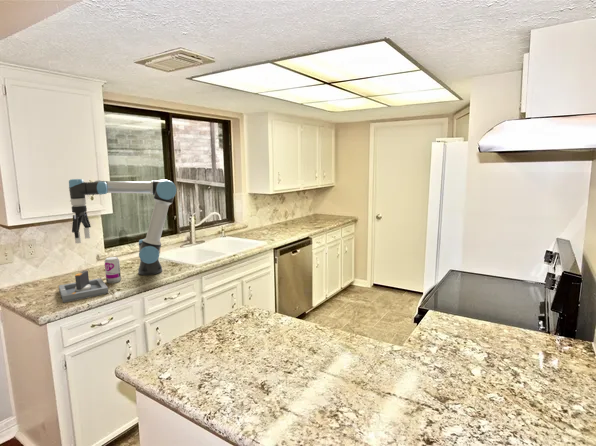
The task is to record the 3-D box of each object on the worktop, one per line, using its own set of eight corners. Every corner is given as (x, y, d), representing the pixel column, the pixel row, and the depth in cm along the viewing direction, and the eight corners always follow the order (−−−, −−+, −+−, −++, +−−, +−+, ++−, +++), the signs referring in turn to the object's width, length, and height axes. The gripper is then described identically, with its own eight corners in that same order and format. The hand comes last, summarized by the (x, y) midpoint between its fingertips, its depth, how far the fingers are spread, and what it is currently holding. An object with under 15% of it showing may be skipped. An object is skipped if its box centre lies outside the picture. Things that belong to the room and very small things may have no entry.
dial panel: (101, 283, 227) (100, 277, 226) (108, 293, 209) (107, 287, 209) (59, 291, 213) (58, 285, 213) (63, 302, 196) (62, 295, 196)
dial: (80, 287, 216) (78, 270, 214) (94, 286, 216) (92, 269, 215) (71, 293, 206) (69, 275, 204) (86, 292, 207) (84, 274, 205)
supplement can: (115, 283, 226) (113, 260, 223) (103, 282, 228) (101, 259, 225) (123, 279, 234) (121, 256, 231) (112, 278, 235) (110, 256, 233)
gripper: (80, 203, 227) (84, 236, 231) (62, 208, 203) (66, 245, 206) (93, 202, 228) (97, 236, 232) (76, 208, 204) (81, 245, 208)
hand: (83, 240), depth 219 cm, fingers open, 13 cm apart
